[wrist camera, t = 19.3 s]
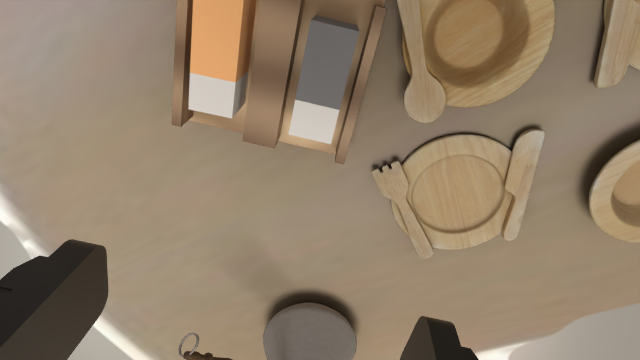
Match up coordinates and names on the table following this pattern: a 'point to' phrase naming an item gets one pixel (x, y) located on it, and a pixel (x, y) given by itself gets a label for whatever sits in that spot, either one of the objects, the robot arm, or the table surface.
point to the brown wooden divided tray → (283, 70)
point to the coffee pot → (300, 335)
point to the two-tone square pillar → (323, 78)
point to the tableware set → (485, 153)
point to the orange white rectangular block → (220, 55)
